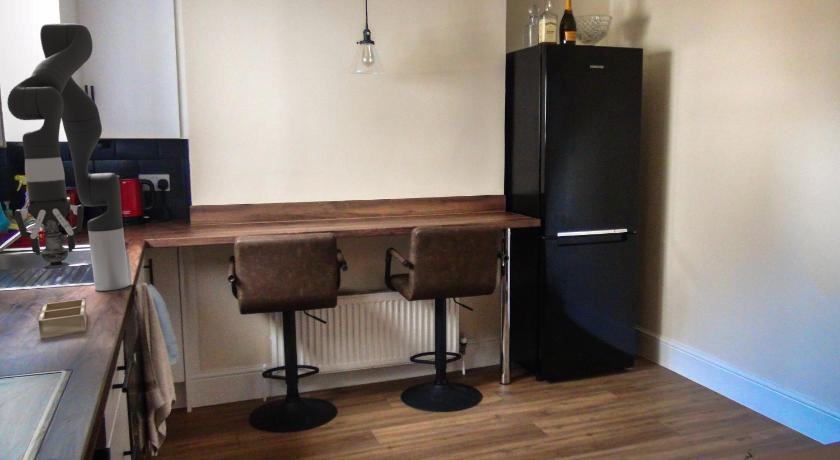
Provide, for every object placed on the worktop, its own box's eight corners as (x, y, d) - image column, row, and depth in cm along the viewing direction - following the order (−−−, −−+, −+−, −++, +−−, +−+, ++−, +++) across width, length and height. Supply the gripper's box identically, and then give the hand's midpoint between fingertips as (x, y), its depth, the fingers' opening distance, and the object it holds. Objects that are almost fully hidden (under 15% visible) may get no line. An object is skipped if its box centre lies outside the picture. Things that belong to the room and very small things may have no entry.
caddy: (46, 319, 166) (44, 303, 166) (86, 314, 170) (85, 298, 170) (40, 338, 151) (38, 321, 150) (85, 331, 155) (83, 314, 154)
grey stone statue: (76, 264, 156) (70, 212, 154) (51, 269, 151) (44, 216, 149) (61, 262, 159) (54, 211, 157) (36, 267, 154) (29, 215, 152)
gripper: (6, 182, 145) (16, 259, 148) (81, 177, 151) (89, 252, 154) (10, 180, 152) (20, 254, 155) (81, 175, 158) (90, 247, 161)
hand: (54, 252), depth 154 cm, fingers closed on grey stone statue, 6 cm apart
